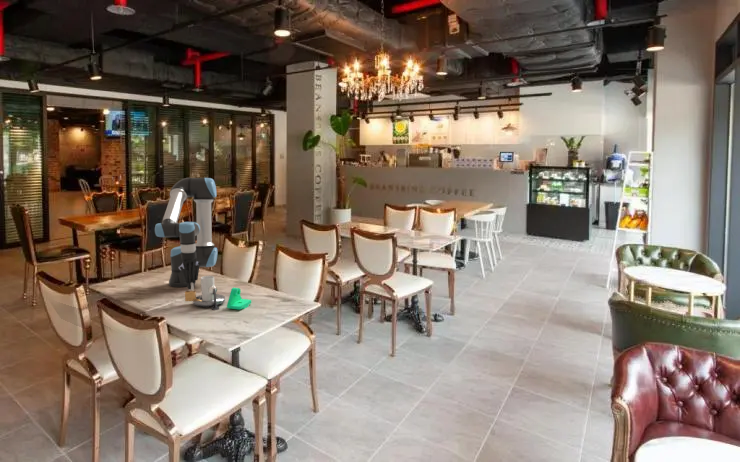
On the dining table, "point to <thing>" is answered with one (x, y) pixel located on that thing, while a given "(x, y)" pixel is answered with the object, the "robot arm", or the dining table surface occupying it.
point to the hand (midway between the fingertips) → (191, 294)
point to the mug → (207, 287)
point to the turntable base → (207, 306)
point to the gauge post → (212, 291)
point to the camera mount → (237, 300)
